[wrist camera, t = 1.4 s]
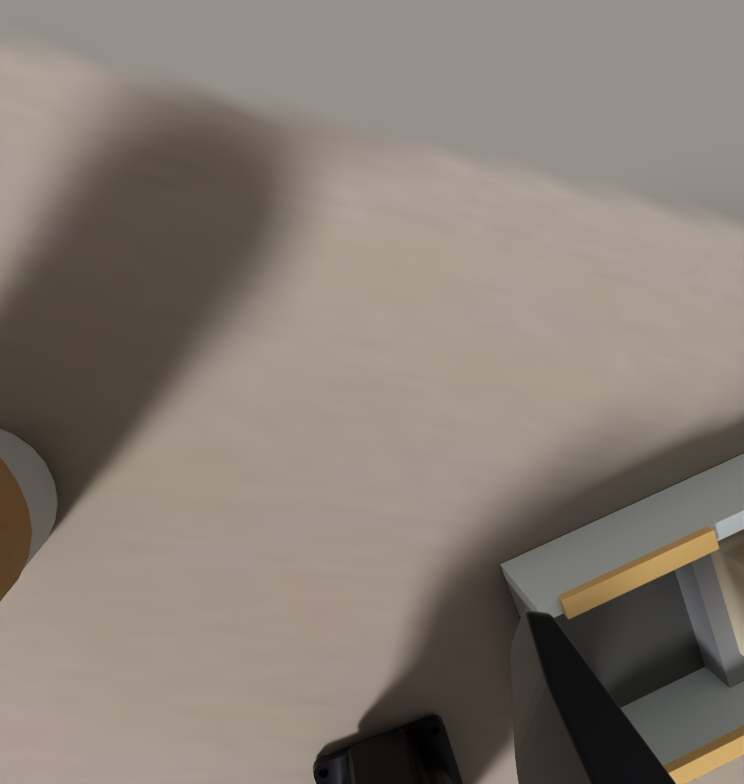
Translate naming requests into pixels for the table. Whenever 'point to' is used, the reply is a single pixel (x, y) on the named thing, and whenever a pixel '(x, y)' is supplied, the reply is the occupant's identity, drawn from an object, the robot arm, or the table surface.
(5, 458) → the coffee cup
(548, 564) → the channel
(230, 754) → the table surface
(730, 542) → the beech block
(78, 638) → the table surface
